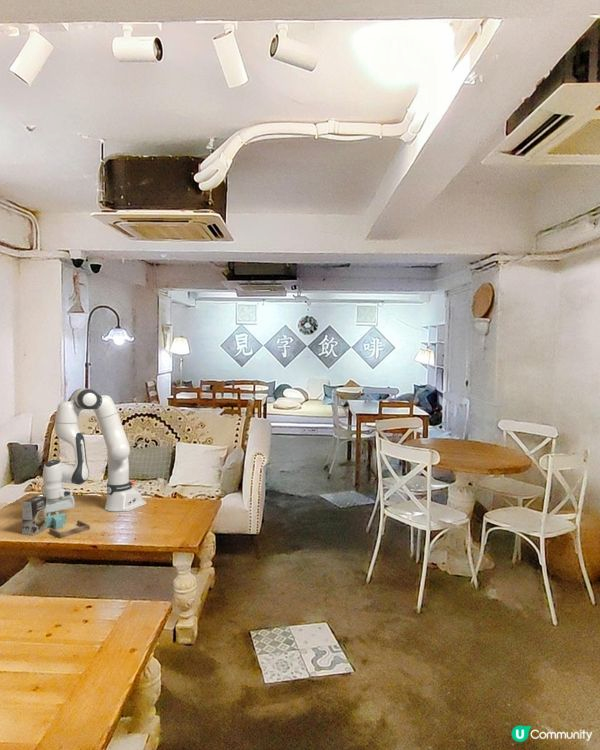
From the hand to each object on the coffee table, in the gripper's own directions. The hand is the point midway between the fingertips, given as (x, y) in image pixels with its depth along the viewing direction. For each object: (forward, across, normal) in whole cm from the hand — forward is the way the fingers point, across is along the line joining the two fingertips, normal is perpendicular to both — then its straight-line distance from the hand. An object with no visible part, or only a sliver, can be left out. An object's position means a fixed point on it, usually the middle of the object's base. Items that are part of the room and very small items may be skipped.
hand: (52, 520), depth 253 cm
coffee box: (+2, -10, -7) cm, 12 cm away
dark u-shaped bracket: (+2, +3, -15) cm, 15 cm away
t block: (+2, 0, -5) cm, 6 cm away
